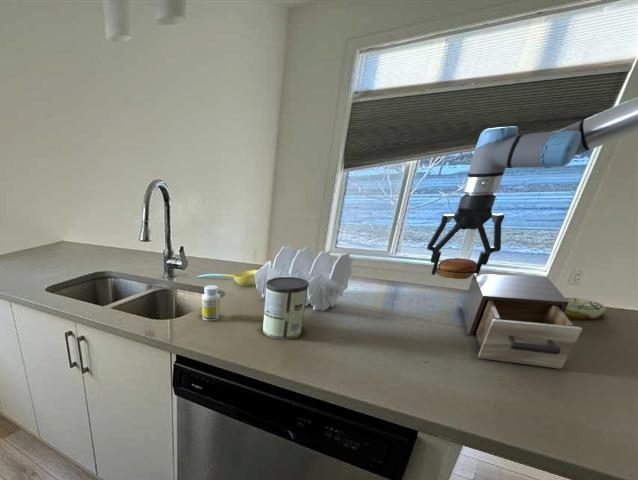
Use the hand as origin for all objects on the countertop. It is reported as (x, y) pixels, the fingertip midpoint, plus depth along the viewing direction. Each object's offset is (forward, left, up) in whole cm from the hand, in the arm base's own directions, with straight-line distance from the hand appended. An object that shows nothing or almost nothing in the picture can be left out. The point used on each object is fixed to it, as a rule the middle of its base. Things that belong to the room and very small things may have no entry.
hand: (453, 274), depth 121 cm
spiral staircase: (+39, +22, -7) cm, 45 cm away
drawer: (-10, +41, -5) cm, 42 cm away
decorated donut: (-26, +10, -7) cm, 28 cm away
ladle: (+70, +5, -7) cm, 70 cm away
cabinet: (-10, +24, -6) cm, 27 cm away
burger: (0, 0, 0) cm, 0 cm away
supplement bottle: (+61, +42, -7) cm, 74 cm away
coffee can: (+39, +46, -7) cm, 61 cm away
